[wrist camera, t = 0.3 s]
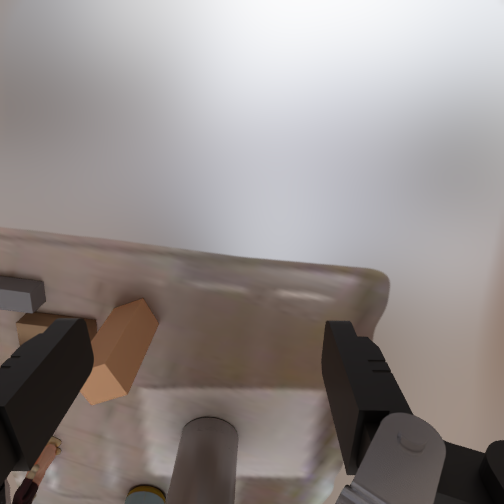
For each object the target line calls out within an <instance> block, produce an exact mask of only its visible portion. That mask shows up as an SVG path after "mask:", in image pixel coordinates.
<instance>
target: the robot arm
mask: <svg viewBox="0 0 504 504" xmlns="http://www.w3.org/2000/svg"><path fill="white" fill-rule="evenodd" d="M321 363H322V375H323V380H324V384H325V388H326V392H327V396H328V400H329V404H330V408H331V412H332V416H333V420H334V424H335V428H336V432H337V437H338V441H339V445H340V449H341V453H342V457H343V461H344V465H345V469H346V473H347V475H355V477H354V479H353V481H352V483H351V484H350V486H349V485H346V486H345V487H344V489H343V490H342V492H341V494H340V496H339V497H338V499H337V501H336V503H335V504H504V440H500V441H495V442H493V443H491V444H490V445H489V446H488V448H487V450H486V452H485V453H482V452H479V451H476V450H472V449H469V448H465V447H462V446H459V445H455V444H452V443H449V442H446V441H444V440H443V439H442V437H441V436H440V435H439V433H438V432H437V431H436V430H435V429H434V428H433V427H432V426H431V425H430V424H429V423H427V422H426V421H424V420H422V419H421V418H419V417H416V416H414V415H413V413H412V411H411V409H410V408H409V405H408V403H407V401H406V399H405V397H404V395H403V394H402V392H401V390H400V388H399V386H398V384H397V382H396V380H395V378H394V376H393V374H392V373H391V370H390V368H389V366H388V364H387V363H386V362H385V358H384V356H383V354H382V352H381V350H380V348H379V347H378V346H377V345H376V344H375V343H373V342H372V341H371V340H370V339H369V338H368V337H357V335H356V332H355V330H354V328H353V326H352V323H351V322H350V321H327V322H326V325H325V332H324V341H323V350H322V362H321ZM93 364H94V354H93V350H92V345H91V341H90V337H89V332H88V328H87V324H86V322H85V320H84V319H82V318H58V319H56V320H55V321H54V322H53V323H52V324H51V325H50V326H49V327H48V328H47V329H46V330H45V331H44V332H43V333H39V334H38V335H36V336H34V337H33V338H31V339H29V340H28V341H26V342H25V343H23V344H22V345H21V346H20V347H19V348H18V349H17V350H16V351H15V352H14V353H13V354H12V355H11V358H8V359H7V360H6V361H5V362H4V363H3V364H2V365H1V368H0V504H11V496H10V487H9V483H8V481H7V477H8V475H9V473H10V472H11V471H31V469H32V467H33V466H34V464H35V462H36V461H37V459H38V458H39V456H40V454H41V453H42V451H43V450H44V448H45V446H46V445H47V443H48V442H49V440H50V438H51V437H52V435H53V434H54V432H55V430H56V429H57V427H58V426H59V424H60V422H61V421H62V419H63V418H64V416H65V414H66V413H67V411H68V409H69V408H70V406H71V405H72V403H73V401H74V400H75V398H76V397H77V395H78V393H79V392H80V390H81V389H82V387H83V385H84V384H85V382H86V381H87V379H88V377H89V376H90V374H91V372H92V369H93ZM237 450H238V434H237V432H236V430H235V429H234V428H233V427H232V426H231V425H230V424H229V423H227V422H225V421H223V420H220V419H216V418H200V419H196V420H194V421H192V422H190V423H188V424H187V425H186V426H185V427H184V429H183V431H182V435H181V439H180V443H179V448H178V452H177V456H176V461H175V465H174V469H173V474H172V478H171V483H170V487H169V491H168V496H167V500H166V504H234V499H235V482H236V465H237Z"/></svg>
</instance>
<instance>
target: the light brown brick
mask: <svg viewBox="0 0 504 504" xmlns="http://www.w3.org/2000/svg"><path fill="white" fill-rule="evenodd" d="M158 325H159V323H158V321H157V320H156V318H155V317H154V315H153V313H152V312H151V310H150V309H149V307H148V305H147V304H146V302H145V300H144V299H143V298H142V299H139V300H136V301H133V302H131V303H128V304H125V305H122V306H119V307H116V308H114V309H113V311H112V312H111V314H110V315H109V316H108V318H107V319H106V321H105V322H104V324H103V325H102V327H101V328H100V329H99V331H98V332H97V334H96V335H95V337H94V338H93V339H92V341H91V345H92V350H93V354H94V364H93V369H92V372H91V374H90V376H89V377H88V379H87V381H86V382H85V384H84V385H83V387H82V389H81V390H80V392H81V393H82V394H83V396H84V397H85V398H86V399H87V401H88V402H89V403H90V404H91V405H94V404H98V403H101V402H104V401H108V400H111V399H114V398H118V397H121V396H124V395H128V392H129V390H130V388H131V386H132V383H133V381H134V379H135V377H136V374H137V372H138V370H139V368H140V365H141V363H142V361H143V359H144V356H145V354H146V352H147V350H148V347H149V345H150V343H151V341H152V338H153V336H154V334H155V332H156V329H157V327H158Z"/></svg>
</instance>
